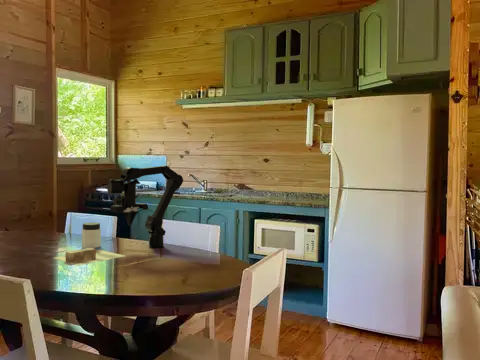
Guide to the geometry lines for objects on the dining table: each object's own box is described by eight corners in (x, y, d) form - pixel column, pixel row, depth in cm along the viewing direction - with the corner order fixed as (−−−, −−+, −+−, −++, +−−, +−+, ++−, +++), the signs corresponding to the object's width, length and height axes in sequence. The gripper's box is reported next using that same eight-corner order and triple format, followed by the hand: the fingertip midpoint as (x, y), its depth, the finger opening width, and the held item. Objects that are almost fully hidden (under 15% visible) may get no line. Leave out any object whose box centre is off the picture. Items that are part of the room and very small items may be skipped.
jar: (102, 248, 221) (103, 224, 220) (86, 250, 216) (86, 225, 215) (95, 245, 228) (96, 221, 227) (79, 247, 223) (79, 223, 222)
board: (99, 250, 214) (100, 249, 214) (126, 257, 202) (126, 256, 202) (52, 259, 195) (52, 257, 195) (78, 266, 183) (78, 265, 183)
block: (90, 247, 199) (65, 251, 190) (95, 248, 197) (70, 253, 187) (90, 256, 199) (65, 261, 190) (95, 257, 197) (70, 262, 187)
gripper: (134, 191, 229) (134, 221, 229) (103, 193, 214) (103, 225, 215) (149, 192, 222) (148, 224, 223) (117, 194, 207) (117, 228, 208)
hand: (129, 225), depth 217 cm, fingers closed
